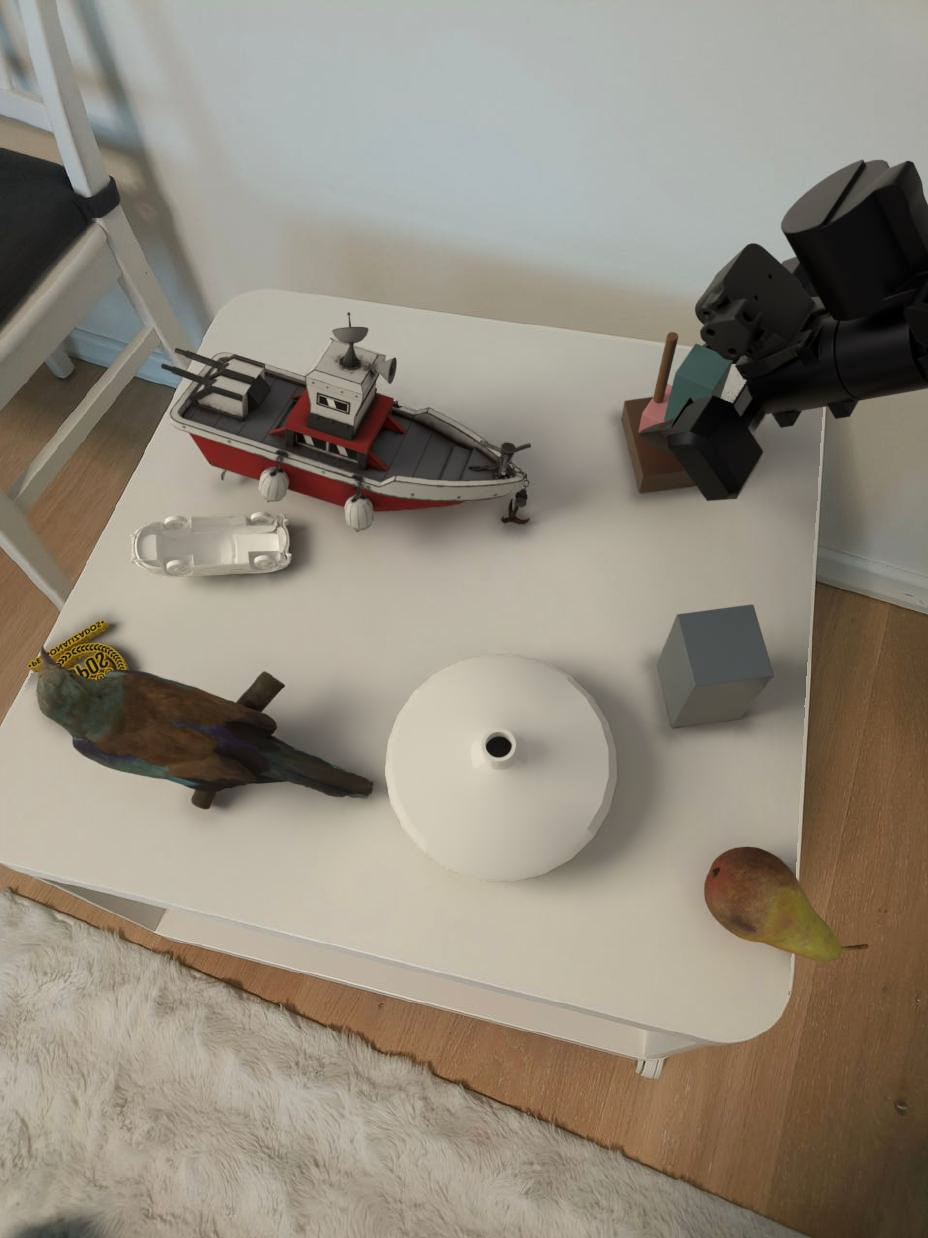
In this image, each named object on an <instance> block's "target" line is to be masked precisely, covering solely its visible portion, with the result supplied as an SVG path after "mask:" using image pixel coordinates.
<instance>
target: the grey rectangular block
mask: <svg viewBox="0 0 928 1238" xmlns="http://www.w3.org/2000/svg"><path fill="white" fill-rule="evenodd" d="M656 669H657V672H658V673H657V674H658V677H659V682H660V685H661V690H662V694H663V698H664V703H665V707H666V711H667V716H668V719H669V725H670V728H671V729H674V728H675V729H677V728H683V727H691V726H698V725H706V724H713V723H714V724H715V723H721V722H722V723H723V722H729V721H736V720H740V719H741V718H742V717H743V716H744V715H745V713H746V712H747V711H748V710H749V708H750V707H751V706H752V704H753V703H754V702H755V701H756V700H757V698H758V697H759V695H760V694H762V691H763V690H764V689H765V688H766V686H767V685H768V684H769V683H770V681H771V680H772V679H773V678H774V677H775V674H774V670H773V667H772V664H771V661H770V657H769V653H768V650H767V646H766V643H765V639H764V636H763V633H762V629H761V626H760V622H759V618H758V616H757V612H756V608H755V605H754V604H753V603H752V604H745V605H737V606H736V605H735V606H730V607H722V608H715V609H707V610H700V611H699V610H698V611H692V612H685V613H677V614H676V616H675V618H674V620H673V623H672V626H671V628H670V630H669V633H668V635H667V638H666V641H665V642H664V645H663V648H662V650H661V652H660V655H659V658H658V660H657V662H656Z"/></svg>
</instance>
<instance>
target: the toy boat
mask: <svg viewBox="0 0 928 1238" xmlns="http://www.w3.org/2000/svg"><path fill="white" fill-rule="evenodd" d="M346 315H347V316H348V326H344V327H339V328H333V330H331V332H332V333H331V334H332V335H333V337H334V338H333V337H329V339H328V340H327V342H326V343H325V345H324V346H323V347H322V349H321V351H320V352H319V354H318V356H317V357H316V359H315V360H314V362H313V363H312V365H311V366H310V368H309V370H307V373H306V374H305V375H302V374H299V373H296V372H293V371H290V370H286V369H284V368H280V367H277V366H273V365H271V364H267V363H264V362H262V361H258V360H256V359H255V360H254V359H251V358H248V357H245V356H242V355H239V354H236V353H233V352H227V351H225V352H223V351H222V352H218V353H216V354H214V355H213V356H212V357H211V358H209V357H207V356H203V355H201V354H198V353H195V352H193V351H191V350H184V349H182V348H178V347H175V348H174V353H176V354H178V355H181V356H184V358H186V359H189V360H191V361H195V362H198V363H200V364H203V365H205V366H204V367H203V368H202V369H201V370H200V372H199V373H198V374H197V373H193V372H191V371H188V370H185V369H182V368H180V367H178V366H175V365H173V366H172V365H169V364H167V363H161V365H160V368H161V369H163V370H165V371H168V372H171V374H173V375H176V376H178V377H182V378H184V379H186V380H189V381H191V382H190V383H189V385H188V387H187V388H186V389H185V391H184V392H183V393H182V394H181V396H180V397H179V399H177V400H176V402H175V404H174V405H173V406H172V408H171V409H170V411H169V420H170V421H169V422H170V424H171V425H172V426H173V427H174V428H175V429H177V430H179V431H182V432H185V433H188V434H189V436H190V437H191V439H192V440H193V442H194V444H196V447H197V448H198V449H199V451H200V453H201V454H202V455H203V457H204V458H205V460H206V461H207V463H208V464H209V466H211V467H214V468H218V469H221V470H222V473H221V474H220V480H221V481H225V475H226V473H227V472H230V473H234V474H236V475H240V476H243V477H247V478H249V479H252V480H257V481H259V482H258V492H259V495H260V496H261V497H262V499H263V500H266V502H267V503H269V502H270V503H276V502H277V503H278V502H280V501H282V500H283V499H284V498H285V497H287V496H286V495H287V493H288V491H292V492H295V493H297V494H302V495H304V496H308V497H311V498H314V499H318V500H321V501H324V502H326V503H330V504H333V505H336V506H340V507H342V508H343V509H344V518H345V523H346V525H348V528H350V529H352V530H354V531H355V532H361V531H365V530H367V529H369V528H370V527H371V526H372V524H373V522H374V512H379V513H381V512H383V513H384V512H400V511H411V510H412V511H413V510H425V509H435V508H436V509H437V508H447V507H453V506H457V505H461V504H464V503H466V502H479V501H488V500H494V499H499V498H502V497H505V496H508V495H511V494H512V493H513V492H514V491H515V490H516V489H517V488H518V487H519V486H520V485H521V484H522V483H523V484H522V486H523V487H524V488H521V489H520V491H517V492H515V495H514V498H515V500H514V499H513V498H511V499H510V500H509V502H508V509H507V512H508V515H507V516H506V517H505V516H502V517H501V518H500V521H501V522H502V524H508V523H514V524H517V525H526V524H527V523H529V521H531V519H530V517H527V518H525V519H524V518H523V519H522V518H519V517H517V516H516V515H517V513H518V511H519V509H520V508H525V507H526V506H527V503H528V498H529V495H528V490H527V489H526V488H528V487H529V485H530V480H529V479H528V474H527V473H526V472H524V471H523V470H522V467H518V466H517V465H516V464H515V463H514V462H513V461H512V459H513V456H514V454H515V453H517V452H521V451H524V450H528V449H531V448H532V444H531V443H530V442H527V443H524V444H521V445H519V446H516V445H515V444H514V443H513V442H509V441H506V442H502V443H501V445H500V446H501V447H499V446H497V445H495V444H492V443H491V442H489V441H487V440H486V439H485V438H483V437H482V436H480V435H479V434H478V433H476V432H474V431H473V430H471V429H470V428H468V427H467V426H465V425H464V424H463V423H460V422H458V421H456V420H455V419H452V418H451V417H449V416H447V415H445V414H443V413H441V412H439V411H437V410H435V409H433V408H431V407H425V408H422V409H418V410H417V409H416V410H415V409H412V408H409V407H405V406H402V405H400V404H399V400H394V399H395V398H394V397H392V396H388V395H385V394H382V393H379V392H378V387H377V381H378V378H379V376H381V377H383V379H384V380H385V381H386V382H387V383H388V384H389V385H391V384H392V383H393V381H394V379H395V376H396V372H397V368H398V367H397V365H398V362H397V361H398V360H397V358H396V357H393V358H390V359H387V358H386V357H387V355H386V354H384V353H380V352H378V351H374V350H372V349H367V348H364V347H361V346H358V345H355V344H357V343H359V342H361V341H363V340H364V339H365V338H366V337H367V336H368V332H369V328H368V327H366V326H352V323H351V312H347V313H346ZM386 359H387V360H386ZM525 483H527V485H526V484H525ZM513 504H514V505H513ZM513 506H514V507H513Z"/></svg>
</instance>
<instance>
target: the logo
mask: <svg viewBox="0 0 928 1238" xmlns="http://www.w3.org/2000/svg"><path fill="white" fill-rule="evenodd" d="M109 627H110V624H109V622H107V621H106V620H105V619H102V620H101V619H100V620H97V621H95V622H94V623H92V624H90V625H89V627H85V628H83V629H82V630H81V631H78V632H77V633H75V634H74V635H72V636H70V637H68V638H67V639H65V640H64V641H62V642H60V643H58V645H57V644H56V645H55V646H54V647H51V648H50V649H49V650H46V652H47V654H48V655H49V656H50V657H51V659H52V660H53V661H54V662H56V663H57V664H58V665H59V666H62V667H64V668H65V669H67V670H73V671H74V672H75V673H77V674H78V675H80V676H82V677H86V678H89V679H95V680H97V679H102V678H103V677H104V676H105V675H106V674H107V673H108V672H110V671H112V670H115V669H114V666H116V670H117V669H123V670H130V667H129V664H128V663H127V661H126V659H125V658H124V657H123V656H122V655H121V654H120V653H119V652H118V651H117V650H116V649H114V648H113V647H112V646H110V645H107V644H104V643H100V642H96V643H95V642H91V643H90V641H91V640H93V639H94V638H96V637H98V636H100V635H102V633H105V632H106V631H108V630H107V629H108V628H109ZM83 658H85V660H84V666H85V667H84V666H82V665H80V664H79V663H77V664H75V663H76V662H77V660H82V659H83ZM110 659H111V660H112V662H111V660H110ZM73 664H75V665H74V666H73V667H72V665H73ZM114 664H115V665H114ZM26 667H27V669H29V670H30V671H32V672H33V673H34V672H40V671H41V669H42V667H43V666H42V660H41V654H40V655H38V656H37V657H35V658H34V659H31V660H30V661H29V663H28V664H27V666H26Z"/></svg>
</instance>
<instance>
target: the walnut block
mask: <svg viewBox="0 0 928 1238" xmlns="http://www.w3.org/2000/svg"><path fill="white" fill-rule="evenodd" d="M653 397H654V396H648V397H642V398H635V399H634V398H633V399H628V400H627V399H626V400H624V402H623V409H622V414H621V423H622V426H623V432H624V437H625V441H626V444H627V449H628V453H629V456H630V460H631V465H632V469H633V473H634V478H635V482H636V485H637V490H638V493H639V494H641V493H643V494H644V493H651V492H657V491H665V490H666V491H667V490H673V489H679V488H689V487H697V486H696V485H695V484H694V482H693V481H692V479H691V478H690V477H689V475H688V474H687V473H686V471H685V470H684V468H683V467H682V466H681V464H680V463H679V462H678V460H677V459H676V457H675V456H672V455H670V454H668V453H666V452H663V451H661V450H659V449H657V448H654V447H652V446H650V445H648V444H646V443H645V442H644V441H643V439H642V438H641V437H640V435H639V427H640V422H641V417H642V413H643V412H644V410H645V409H646V407H647V406H648V404H649V403H650V401H651V400H652V398H653Z"/></svg>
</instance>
